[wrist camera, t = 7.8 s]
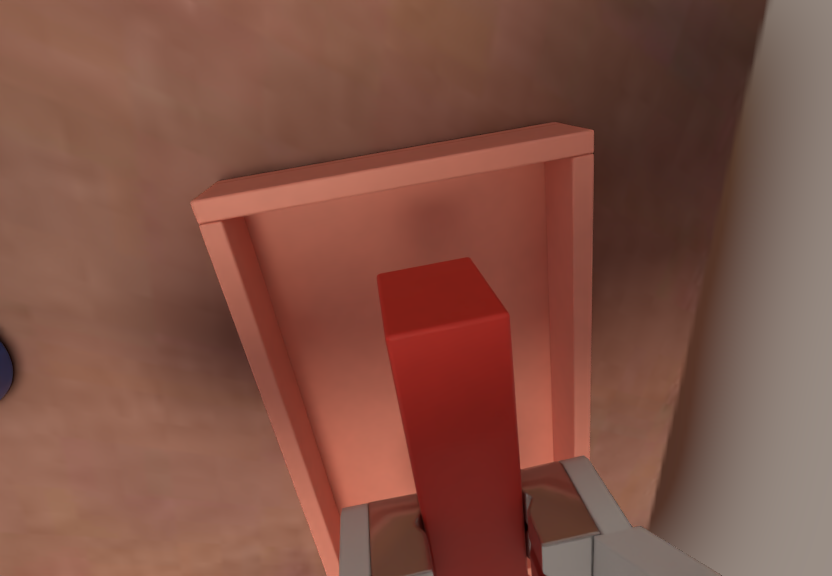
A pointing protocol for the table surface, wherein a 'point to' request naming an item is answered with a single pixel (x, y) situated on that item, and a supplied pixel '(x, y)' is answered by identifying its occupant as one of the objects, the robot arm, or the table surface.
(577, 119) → the table surface
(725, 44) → the table surface
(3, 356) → the blue spoon
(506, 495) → the red spoon
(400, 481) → the red tray
